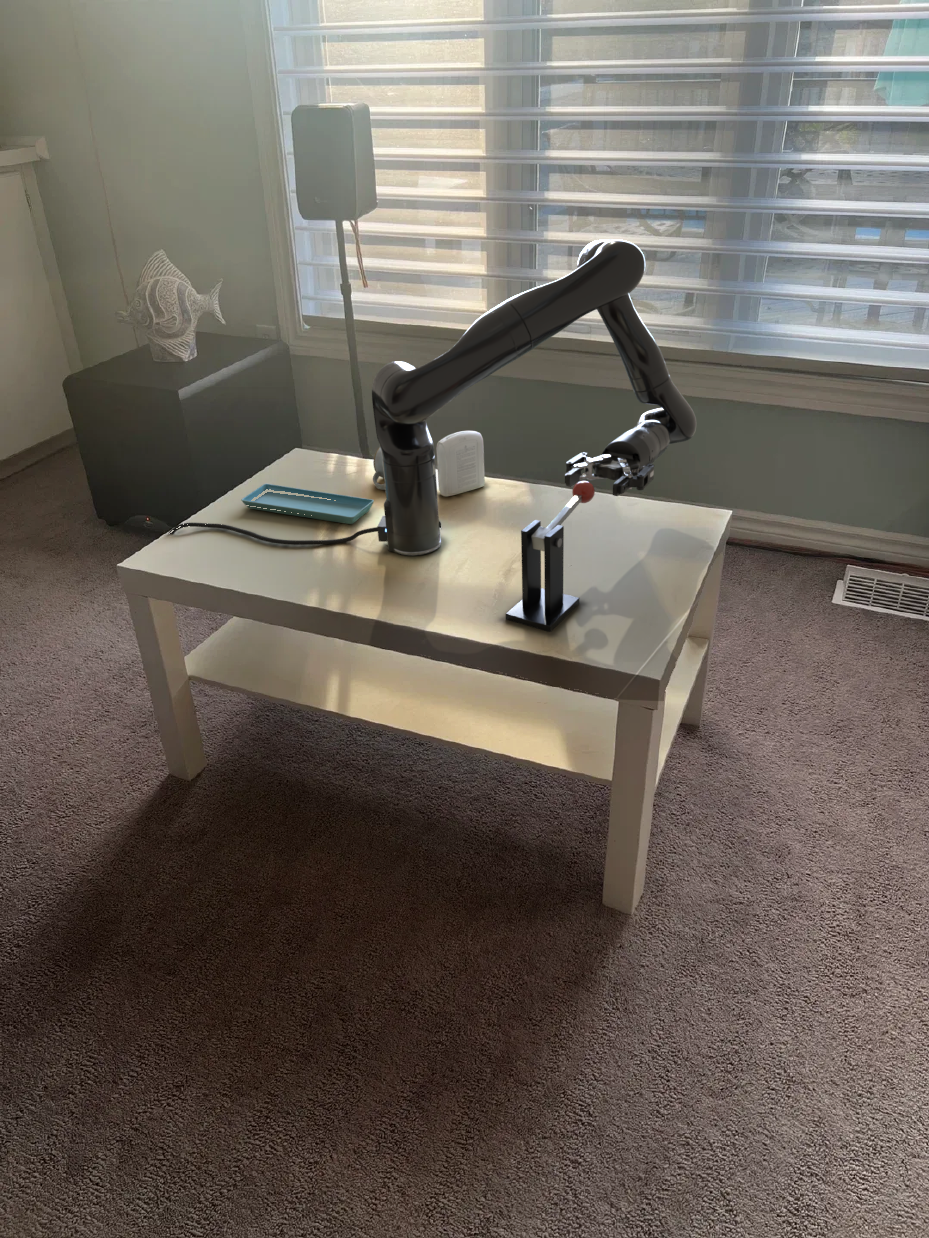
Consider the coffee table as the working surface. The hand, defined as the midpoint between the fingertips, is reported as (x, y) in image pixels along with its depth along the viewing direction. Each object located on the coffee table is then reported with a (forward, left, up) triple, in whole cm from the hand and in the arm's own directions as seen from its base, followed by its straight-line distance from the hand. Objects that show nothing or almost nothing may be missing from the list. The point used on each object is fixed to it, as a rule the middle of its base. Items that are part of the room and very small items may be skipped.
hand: (591, 486), depth 151 cm
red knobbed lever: (-4, -8, -3) cm, 10 cm away
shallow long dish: (-57, +23, -16) cm, 63 cm away
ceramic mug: (-42, +38, -16) cm, 59 cm away
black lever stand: (-7, -15, -15) cm, 23 cm away
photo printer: (-27, +34, -16) cm, 46 cm away
